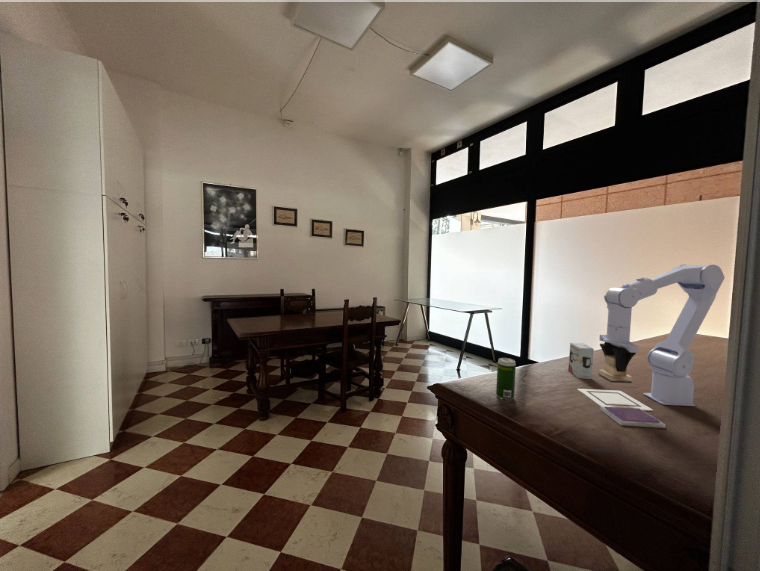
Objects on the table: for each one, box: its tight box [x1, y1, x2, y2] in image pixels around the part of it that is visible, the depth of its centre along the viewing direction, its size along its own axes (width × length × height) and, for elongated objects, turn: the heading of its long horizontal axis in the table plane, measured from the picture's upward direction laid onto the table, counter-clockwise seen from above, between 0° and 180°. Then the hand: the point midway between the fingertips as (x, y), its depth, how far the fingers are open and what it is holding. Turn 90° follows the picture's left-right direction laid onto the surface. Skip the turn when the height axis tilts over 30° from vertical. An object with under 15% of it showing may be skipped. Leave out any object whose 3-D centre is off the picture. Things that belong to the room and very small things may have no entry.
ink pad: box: [599, 406, 666, 429], centre depth 86 cm, size 11×9×1 cm
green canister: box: [495, 357, 517, 401], centre depth 99 cm, size 5×5×12 cm
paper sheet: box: [576, 388, 654, 412], centre depth 99 cm, size 14×14×1 cm
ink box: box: [567, 342, 595, 380], centre depth 120 cm, size 9×5×12 cm, turn 172°
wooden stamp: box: [598, 355, 633, 384], centre depth 97 cm, size 6×6×7 cm
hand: (615, 368), depth 97 cm, fingers closed on wooden stamp, 4 cm apart
